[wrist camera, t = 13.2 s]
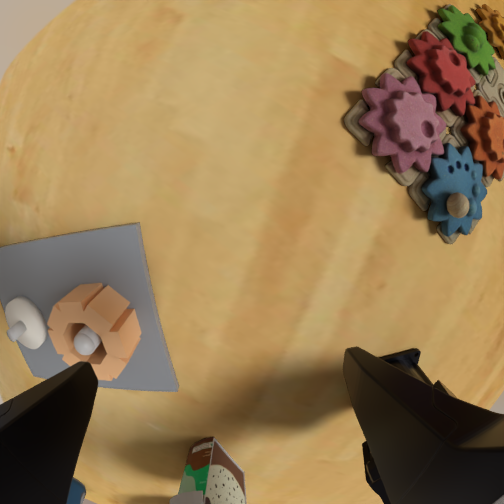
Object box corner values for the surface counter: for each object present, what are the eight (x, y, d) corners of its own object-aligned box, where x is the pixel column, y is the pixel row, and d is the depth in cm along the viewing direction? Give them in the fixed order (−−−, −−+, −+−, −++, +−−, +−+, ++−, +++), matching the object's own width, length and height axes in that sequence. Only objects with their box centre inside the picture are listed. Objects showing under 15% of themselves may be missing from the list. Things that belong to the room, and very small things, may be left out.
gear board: (139, 222, 19) (109, 238, 14) (179, 386, 23) (169, 425, 18) (-9, 248, 19) (-41, 263, 14) (36, 372, 23) (16, 397, 18)
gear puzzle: (462, -18, 12) (480, -29, 8) (535, 81, 15) (555, 79, 11) (331, 122, 18) (351, 111, 14) (448, 257, 21) (476, 272, 17)
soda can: (51, 467, 31) (33, 508, 19) (75, 475, 31) (58, 520, 19) (69, 484, 33) (55, 523, 21) (93, 492, 33) (80, 534, 21)
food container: (159, 435, 25) (142, 506, 16) (208, 429, 25) (200, 508, 15) (206, 481, 29) (202, 538, 19) (248, 476, 28) (250, 536, 19)
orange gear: (127, 280, 19) (108, 300, 16) (149, 355, 21) (137, 382, 18) (60, 285, 19) (37, 303, 16) (84, 353, 21) (68, 376, 18)
